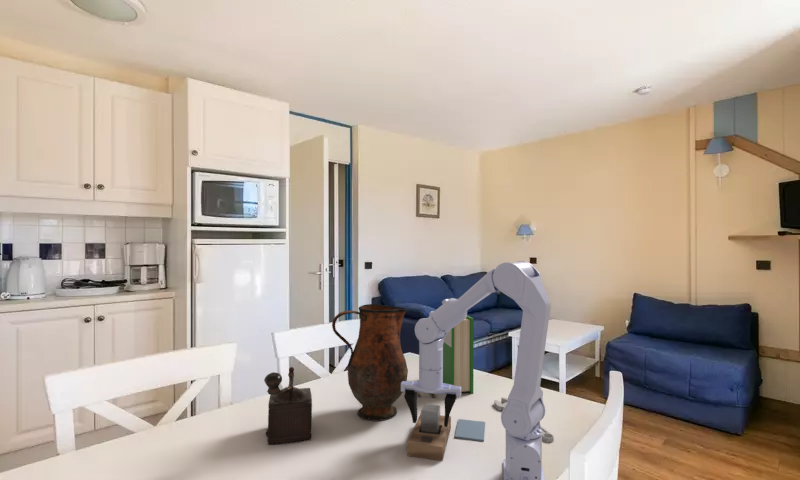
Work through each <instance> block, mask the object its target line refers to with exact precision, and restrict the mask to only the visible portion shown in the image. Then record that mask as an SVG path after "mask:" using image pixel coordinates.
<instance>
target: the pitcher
mask: <svg viewBox="0 0 800 480" xmlns="http://www.w3.org/2000/svg"><path fill="white" fill-rule="evenodd" d="M407 310H408V309H407V308H406V307H398V306H389V305H385V304H373V303H369V304H363V305H360V306H359V307H358V310H357V311H356V310H345V311H342V312H341V311H340V312H339V313H337V314H336V315H335V316H334V317H333V319H332V324H331V326H332V331H333V333H334V335H336V336H337V337H338V338H339V339H340V340H341V341H342V342H343V343H344V344H345V345H346V346H347V347H348V348H349V350H350V357H349V360H348V365H347V381H348V386H349V388H350V390H351V393H352V394H353V397H354V398H355V399H356V401H358V403H359V404H360V405H361V407H360V408H358V410H357V412H356V413H357V416H358V417H359V418H360V419H363V420H367V421H373V422H374V421H385V420H386V421H387V420H390V419H392V418H394V417H396V415H397V413H398V409H397V408H396V407H395V406H394V405H393V404H394V403H395V402H396V401H397V400H398V399H399V398H400V397H401V395H402V393H403V392H401V383H402V381H408V372H409V369H408V366H407V361H406V358H405V355H404V353H403V350H402V345H401V330H402V329H401V328H402V325H403V320H404V316H405V314H406V312H407ZM348 314H356V315H358V317H359V328H358V329H359V331H358V338H357V340H356V343H355V346H354V349H353V347H352V346H351V343H350V342H349V341H348V340H347V339H346V338H344V336H342V335H341V333H339V332H338V330H337V329H336V328H337V327H336V323H337V320H338V319H339V318H340V317H342V316H344V315H348Z"/></svg>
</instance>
